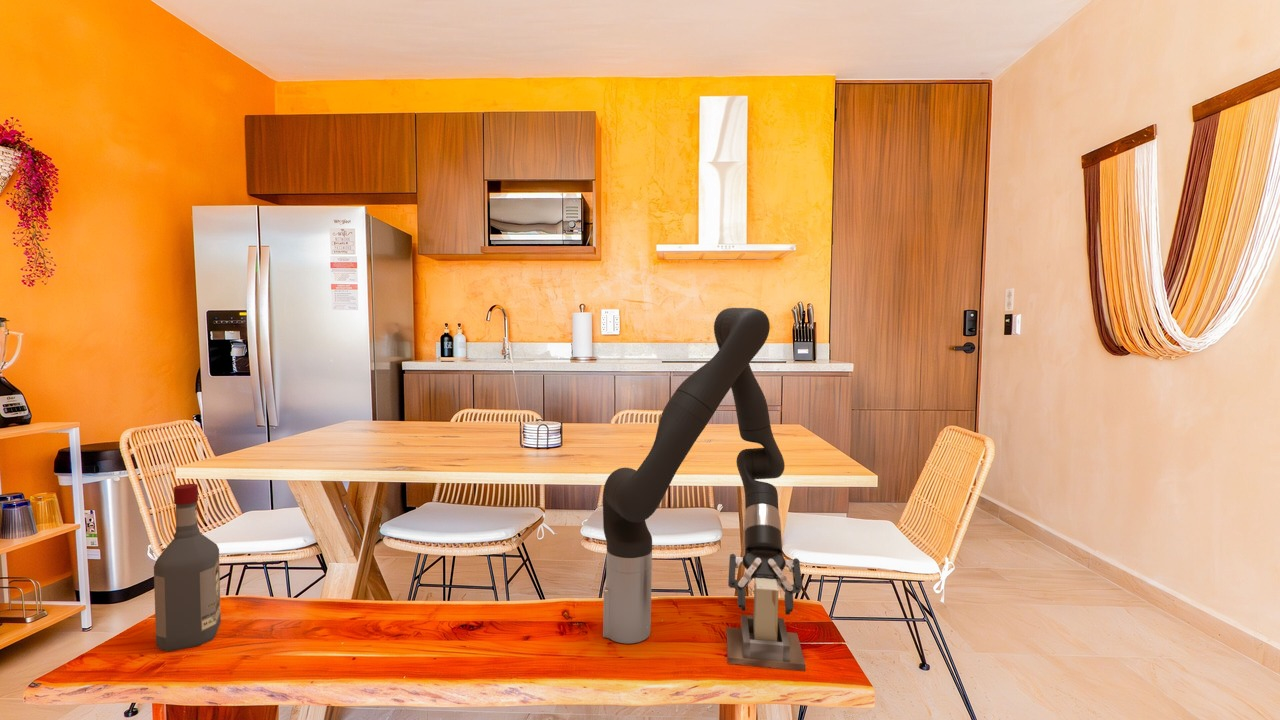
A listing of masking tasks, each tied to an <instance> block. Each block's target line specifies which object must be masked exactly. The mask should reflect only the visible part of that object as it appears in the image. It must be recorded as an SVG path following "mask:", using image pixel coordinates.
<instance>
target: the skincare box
mask: <svg viewBox="0 0 1280 720" xmlns="http://www.w3.org/2000/svg"><path fill="white" fill-rule="evenodd" d="M753 585H754V589H753V591H754V592H753V616H754V623H753V640H762V641H773V642H777V629H778V618H779V592H780V589H779V588H780V586H779V585H778V583H777V579H776V578H775V579H771V578H757V577H755V579H754V584H753Z"/></svg>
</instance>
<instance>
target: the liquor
mask: <svg viewBox="0 0 1280 720" xmlns="http://www.w3.org/2000/svg"><path fill="white" fill-rule="evenodd" d="M198 486H199V485H198V484H197V483H185V484H179V485H176V486H174V487H173V504H174V505H175V532H174V534H173V537H174V538H173V539H172V540H171V541H170V543H169V544H168V545H167V546H166V547H165V549H164V550H163V551H162V552H161V554H159V556H158V558H157V559H156V560H155V564H154V566H153V585H154V586H153V588H154V589H153V590H154V614H155V615H154V618H155V621H154V623H155V646H156V647H157V648H158V649H159V650H160V651H161V650H162V651H165V652H173V651H178V650H184V649H190V648H195V647H200V646H202V645H204V644H206V643H208V642H210V641H212V640H214V639H215V637H216V635H217V633H218V630H219V627H220V625H221V623H222V622H221V621H222V620H221V615H222V613H221V579H220V577H221V576H220V575H221V574H220V573H221V571H220V548H219V546H218V544H217V543H215V542H214V541H213V540H211V539H209V538H208V537H207V536H205V535H204V534H203V533H201V532H200V528H199V524H198V504H197V502H198V501H199V488H198Z"/></svg>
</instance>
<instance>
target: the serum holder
mask: <svg viewBox="0 0 1280 720" xmlns="http://www.w3.org/2000/svg"><path fill="white" fill-rule="evenodd" d="M753 623H754V615H747V614H741V615H740V627H739V628H738V627H727V626H726V652H727V654H728V655H727V664H728V663H732V664H731V665H735V664H741V665H740V666H746V665H751V666H750V667H757V666H764V667H763V668H768V667H771V668H770V669H781V670H791V671H792V670H793V671H803V672H805V671H806V660H805V658H804V654H803V650H802V646H801V643H800V640H799V635H798V633H797V632H787V628H786V623H785V619H784V618H783V617H778V629H777V642H773V641H762V640H753Z"/></svg>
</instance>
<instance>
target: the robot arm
mask: <svg viewBox="0 0 1280 720" xmlns="http://www.w3.org/2000/svg"><path fill="white" fill-rule="evenodd" d="M770 329H771V327H770V319H769V317H768V316H767V314H766V313H765V312H764V311H763V310H760V309H758V308H754V307H753V308H752V307H728V308H725V309H722V310H721V311H720V312H719V313H718V314H717V315H716V318H715V319H714V323H713V334H714V338H715V341H716V344H717V347H718V351H717V353H715V354H714V356H713V357H712V358H711V359H710V360H709V361H707V362H706V363H705V364H704V365H702V366H701V367H699V368H698V369H697V370H696V371H694V372H692V374H690V375H689V376H687V378H686V379H684V380H682V382H681V383H680V385H678V387H677V388H676V390H675V391H674V393H673V394H672V395H671V397H670V398H669V400H668V402H667V403H666V405H665V406H664V409H663V410H662V413H661V414H660V417H659V418H660V419H659V422H658V426H657V431H656V435H655V439H654V441H653V444H652V447H651V449H650V451H649V452H648V454H647V456H646V457H645V458H644V459H643V461H642V463H641V464H640V466H639V467H637V469H634V468H631V467H619V468H617V469H616V470H614V471H612V472H611V473H610V474H609V475H608V476H607V479H606V480H605V482H604V487H603V491H602V521H603V522H602V523H603V525H602V527H603V533H604V537H605V541H606V562H605V563H606V565H605V566H606V571H605V572H606V575H605V579H606V580H605V587H604V590H603V607H602V608H603V612H602V613H603V614H602V615H603V616H602V619H603V621H602V622H603V623H602V637H603V638H607V639H609V640H611V641H613V642H616V643H620V644H637V643H641V642H643V641H644V640H646V639H648V637H650V636H651V627H652V623H651V622H652V621H651V620H652V619H651V618H652V616H651V615H652V581H653V580H652V579H653V577H652V569H653V537H652V534H651V532H650V531H649V528H648V526H647V522H646V520H647V519H649V518H650V517H651V516H653V514H654V513H655V512H656V511H657V509H658V507H659V506H660V504H661V502H662V501H663V498H664V497H665V495H666V492H667V490H668V489H669V487H670V485H671V483H672V481H673V479H674V477H675V475H676V473H677V471H678V469H679V467H680V466H681V465H682V463H683V462H684V461H685V458H686V457H687V455H688V454H689V453H690V451H691V449H692V447H693V446H694V444H695V443H696V441H697V440H698V439H699V436H700V435H701V434H702V433H703V431H704V430H705V428H706V427H707V425H708V424H709V422H710V420H711V419H712V418H713V416H714V415H715V412H716V411H717V409H718V408H719V407H720V404H721V403H722V401H724V398H725V397H726V395H727V394H728V392H729V391H730V389H731V392H732V395H733V400H734V406H735V407H734V408H735V413H736V419H737V424H738V431H739V436H740V438H741V439H742V440H743V441H744V442H749V443H755V444H758V445H761V446H762V447H756V448H745V449H742V450H740V452H739V453H738V454H737V456H736V467H737V470H738V473H739V474H738V475H739V476H740V479H741V482H742V486H743V489H744V505H745V508H744V509H745V510H744V511H745V514H744V521H743V522H744V523H743V524H744V526H743V532H744V555H743V557H742V556H736V554H735V553H731V554H730V555H729V559H728V560H729V562H728V563H729V564H728V582H727V583H728V587H729V588H731V589H735V590H736V591H737V607H738V608H740V609H741V612H745V611H746V588H747V586H748V585H749V584H750V583H751V582H752V580H753V579H754V580H755V577H757V578H771V579H775V578H776V579H777V583H778V587H779V588H781V589H782V590H783V593H784V612H785V615H787V616H790V615H791V613H792V612H793V609H794V607H795V606H794V594H799V593H801V591H802V589H803V582H802V581H803V580H802V572H801V563H800V560H799V559H798V558H797V557H795V558H794V559H791V560H790V559H787V560H786V559H785V557H784V555H783V544H782V543H783V540H782V539H783V538H782V527H781V526H782V523H781V517H780V511H779V493H778V490H777V488H776V486H775V485H773V484H771V483H769V482H764V481H761V480H770V479H778V478H780V477H781V476H782V475H783V473H784V471H785V460H784V457H783V454H782V453H781V450H780V448H779V446H778V444H777V441H776V440H775V437H774V434H773V431H772V425H771V420H770V419H771V418H770V414H769V413H770V412H769V408H768V407H769V406H768V402H767V399H766V397H765V394H764V392H763V390H762V388H761V386H760V385H759V383H758V380H757V379H756V377H755V374H754V373H753V370H752V368H751V364H750V362H751V361H752V360H754V358H755V356H756V355H757V354H758V353H759V352H760V350H761V349H762V348H763V347H764V345H765V343H766V341H767V339H768V337H769V335H770ZM741 564H742V565H743V566H744V568H745V569H746V571H745V572H744V574H743V576H742V577H741V578H740V580H738V579H736V569H738V568H739V567H740V565H741ZM785 568H787V569H788V571H789V572H790V573H792V579H793V584H792V583H791V582H790V581H789V580H788V578H787V576H786V575H785V573H784V572H783V571H784V569H785Z"/></svg>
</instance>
